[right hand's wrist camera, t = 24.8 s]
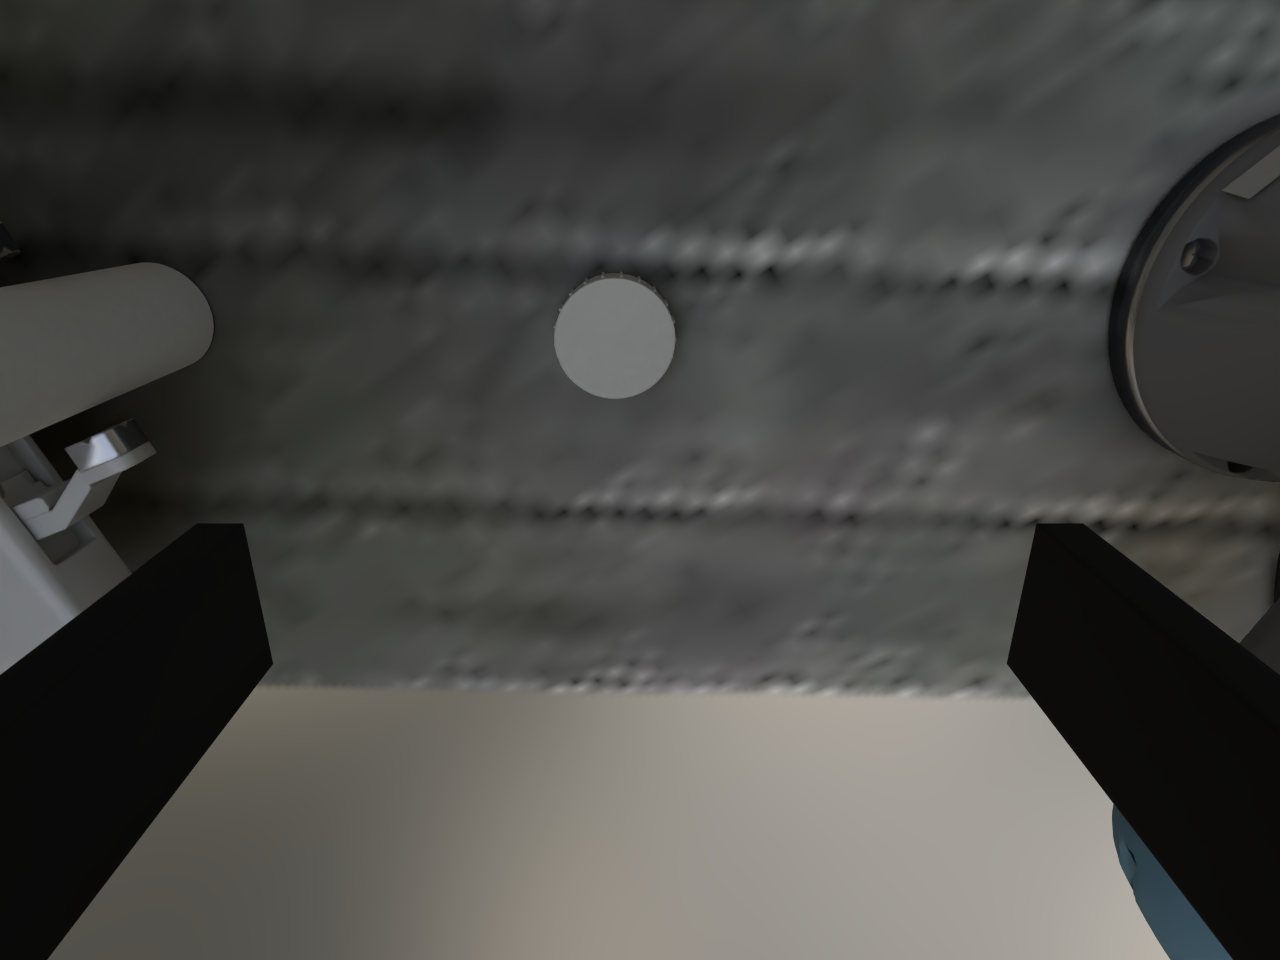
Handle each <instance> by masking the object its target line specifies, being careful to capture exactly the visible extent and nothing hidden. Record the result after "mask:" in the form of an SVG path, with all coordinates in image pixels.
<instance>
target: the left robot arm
mask: <svg viewBox="0 0 1280 960" xmlns="http://www.w3.org/2000/svg"><path fill="white" fill-rule="evenodd" d="M20 252H21V251H20V250H19V248H18V247H17V245H16V244H15V242H14V241H13V239H12V238H11V236H10V234H9V233H8V231H7V230H6V228H5V227H4V225H3V224H2V223H1V222H0V261H1V259H5V258H11V257H13V256H15V255H17V254H19V253H20ZM64 449H65V450H66V452H67V453H68V455H69V456H70V458H71V459H72V460H73V462H74V463H75V465H76V466H77V468H78V469H77V470H76V472H75V473H74V475H73V477H72V478H71V479H68V480H66V481H63V480H62V478H61V477H60V476H59V474H58V473H57V471H56V470H55V469H54V467H53V466H52V465H51V463H50V462H49V461H48V459H47V458H46V457H45V455H44V454H43V452H42V451H41V450H40V448H39V447H38V446H37V444H36V443H35V442H34V440H33V439H32V438H31V436H30V435H27V436H25V437H22V438H20V439H18V440H15V441H13V442H11V443H8V444H6V445H4V446H1V447H0V675H1V674H2V673H3V672H5V671H6V670H7V669H8V668H10V667H11V666H12V665H14V664H15V663H16V662H18V661H19V660H20V659H21V658H23V657H24V656H25V655H27V654H28V653H29V652H31V651H32V650H33V649H34V648H36V647H37V646H38V645H40V644H41V643H42V642H44V641H45V640H46V639H47V638H49V637H50V636H51V635H53V634H54V633H55V632H57V631H58V630H59V629H61V628H62V627H63V626H64V625H66V624H67V623H68V622H70V621H71V620H72V619H74V618H75V617H76V616H77V615H79V614H80V613H81V612H83V611H84V610H85V609H87V608H88V607H89V606H90V605H92V604H93V603H94V602H96V601H97V600H98V599H100V598H101V597H102V596H103V595H105V594H106V593H107V592H109V591H110V590H111V589H113V588H114V587H115V586H116V585H118V584H119V583H120V582H122V581H123V580H124V579H126V578H127V577H128V576H130V575H131V574H132V573H131V571H130V570H129V569H128V567H127V566H126V565H125V563H124V562H123V561H122V559H121V558H120V557H119V555H118V554H117V553H116V551H115V550H114V549H113V547H112V546H111V545H110V543H109V542H108V540H107V539H106V538H105V536H104V535H103V534H102V532H101V531H100V530H99V528H98V527H97V526H96V524H95V523H94V522H93V520H92V519H91V517H90V516H89V514H90V513H92V512H94V511H95V510H97V509H98V508H100V507H102V506H103V505H104V504H105V502H106V500H107V498H108V496H109V494H110V493H111V491H112V489H113V487H114V485H115V483H116V482H117V480H118V478H119V476H120V474H121V472H122V471H125V470H127V469H129V468H131V467H133V466H135V465H137V464H139V463H140V462H142V461H144V460H145V459H147V458H149V457H150V456H152V455H154V454H156V450H155V449H154V447H153V446H152V444H151V443H150V441H149V440H148V439H147V437H146V436H145V435H144V433H143V432H142V430H141V429H140V427H139V426H138V425H137V423H136V422H135V420H134V419H133V418H130V419H128V420H126V421H123V422H121V423H119V424H117V425H115V426H111V427H109V428H107V429H104V430H102V431H100V432H97V433H95V434H93V435H91V436H89V437H87V438H85V439H83V440H81V441H78V442H76V443H74V444H72V445H70V446H68V447H66V448H64Z"/></svg>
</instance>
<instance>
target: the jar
mask: <svg viewBox="0 0 1280 960" xmlns="http://www.w3.org/2000/svg"><path fill="white" fill-rule="evenodd" d="M213 332H214V323H213V316H212V312H211V309H210V306H209V304H208V302H207V300H206V298H205V297H204V295H203V293H202V292H201V291H200V290H199V288H198V287H197V286H196V285H195V284H194V283H193V282H192V281H191V280H190V279H189V278H187V277H186V276H185V275H183V274H182V273H180V272H178V271H177V270H175V269H173V268H170V267H168V266H165V265H162V264H158V263H151V262H143V263H135V264H130V265H124V266H118V267H113V268H107V269H102V270H96V271H90V272H85V273H79V274H73V275H68V276H62V277H56V278H51V279H45V280H40V281H34V282H28V283H23V284H17V285H11V286H6V287H0V447H1V446H4V445H6V444H8V443H11V442H13V441H15V440H18V439H20V438H22V437H25V436H27V435H29V434H32V433H34V432H36V431H39V430H41V429H43V428H45V427H48V426H50V425H52V424H55V423H57V422H59V421H62V420H64V419H66V418H69V417H71V416H73V415H76V414H78V413H80V412H82V411H85V410H87V409H89V408H92V407H94V406H96V405H99V404H101V403H103V402H106V401H108V400H110V399H113V398H115V397H117V396H119V395H122V394H124V393H126V392H129V391H131V390H133V389H136V388H138V387H140V386H143V385H145V384H147V383H150V382H152V381H154V380H157V379H159V378H161V377H163V376H166V375H168V374H170V373H173V372H175V371H177V370H180V369H182V368H184V367H187V366H189V365H191V364H193V363H195V362H196V361H198V360H199V359H200V358H201V357H203V355H204V354H205V353H206V352H207V350H208V348H209V347H210V344H211V341H212V338H213Z"/></svg>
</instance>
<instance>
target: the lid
mask: <svg viewBox="0 0 1280 960" xmlns="http://www.w3.org/2000/svg"><path fill="white" fill-rule="evenodd" d="M559 311H560V313H559V316H558V318H557V321H556V323H555V325H554V328H555V332H554V347H555V350H556V354H557V357H558V360H559V363H560V365H561V366H562V368H563V370H564V372H565V373H566V374H567V376H568V377H569V378H570V379H571V380H572V381H573V382H574V383H575V384H576V385H577V386H579V387H580V388H581V389H583V390H585V391H586V392H588V393H591V394H593V395H596V396H599V397H603V398H609V399H621V398H628V397H632V396H635V395H638V394H640V393H642V392H644V391H646V390H648V389H649V388H651V387H652V386H653V385H654V384H655V383H657V382H658V381H659V380H660V378H661V377H662V376H663V375H664V374H665V372H666V370H667V369H668V367H669V365H670V363H671V360H672V359H673V354H674V349H675V341H677V338H676V335H675V328H674V323H675V320H674V317H673V316H671V314H670V311H669V308H668V303H667V300H666V299H665V300H664V299H663V298H662V296H661V295H660V294H659V293H658V292H657V291H656V287H655V286H654V285H653V287H652V286H651V285H650V284H648V283H647V282H645V281H643V280H641V278H640V276H638V277H635V276H631V275H628V274H623V272H622V271H620V273H608V274H605V272H602V275H598V276H595V277H593V278H590V279H589V280H588V278H586V279H585V281H584V282H583V283H582V284H581V285H579V286H578V287H577V288H576V289H575V290H573V289H572V290H571V291H570V294H569V297H568V298H567V300H566V301H565V303H564V304H562V305H561V307H560V308H559Z"/></svg>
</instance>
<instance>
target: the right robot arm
mask: <svg viewBox="0 0 1280 960" xmlns="http://www.w3.org/2000/svg"><path fill="white" fill-rule="evenodd" d="M1109 355H1110V365H1111V369H1112V374H1113V378H1114V382H1115V385H1116V388H1117V391H1118V393H1119V396H1120V398H1121V400H1122V402H1123V404H1124V406H1125V408H1126V409H1127V411H1128V412H1129V414H1130V415H1131V417H1132V419H1133V420H1134V421H1135V422H1136V423H1137V425H1138V426H1139V427H1140V428H1141V429H1142V430H1143V431H1144V432H1145V433H1146V434H1147V435H1148V436H1149V437H1150V438H1152V439H1153V440H1154V441H1155V442H1157V443H1158V444H1160V445H1161V446H1163V447H1164V448H1166V449H1168V450H1170V451H1171V452H1173V453H1175V454H1177V455H1179V456H1181V457H1183V458H1185V459H1187V460H1189V461H1191V462H1193V463H1195V464H1197V465H1199V466H1201V467H1203V468H1206V469H1209V470H1211V471H1214V472H1217V473H1221V474H1225V475H1228V476H1234V477H1240V478H1245V479H1252V480H1261V481H1272V482H1280V114H1279V115H1276V116H1274V117H1272V118H1270V119H1267V120H1265V121H1263V122H1261V123H1258V124H1257V125H1255V126H1253V127H1251V128H1249V129H1248V130H1246V131H1244V132H1242V133H1240V134H1239V135H1237V136H1236V137H1234V138H1232V139H1231V140H1229V141H1228V142H1226V143H1225V144H1223V145H1222V146H1220V147H1219V148H1218V149H1217V150H1215V151H1214V152H1213V153H1211V154H1210V155H1209V156H1207V157H1206V158H1205V159H1204V160H1202V161H1201V162H1200V163H1199V164H1198V165H1197V166H1196V167H1195V168H1194V169H1193V170H1191V171H1190V172H1189V173H1188V174H1187V175H1186V176H1185V177H1184V178H1183V179H1182V180H1181V181H1180V182H1179V183H1178V184H1177V186H1176V187H1175V188H1174V189H1173V190H1172V191H1171V192H1170V193H1169V194H1168V196H1167V197H1166V198H1165V199H1164V201H1163V202H1162V203H1161V204H1160V205H1159V207H1158V208H1157V209H1156V211H1155V212H1154V214H1153V215H1152V217H1151V218H1150V219H1149V221H1148V222H1147V224H1146V225H1145V227H1144V229H1143V230H1142V232H1141V234H1140V236H1139V237H1138V239H1137V241H1136V242H1135V244H1134V246H1133V248H1132V250H1131V253H1130V255H1129V257H1128V259H1127V261H1126V263H1125V266H1124V268H1123V271H1122V274H1121V276H1120V279H1119V282H1118V285H1117V289H1116V292H1115V296H1114V300H1113V305H1112V310H1111V316H1110V326H1109ZM272 665H273V661H272V656H271V651H270V647H269V642H268V637H267V633H266V628H265V623H264V618H263V614H262V609H261V604H260V600H259V595H258V590H257V585H256V581H255V576H254V571H253V567H252V562H251V557H250V552H249V548H248V543H247V538H246V534H245V529H244V524H196V525H195V526H193V527H192V528H191V529H189V530H188V531H187V532H185V533H184V534H183V535H182V536H180V537H179V538H178V539H176V540H175V541H174V542H172V543H171V544H170V545H169V546H167V547H166V548H165V549H163V550H162V551H161V552H159V553H158V554H157V555H156V556H154V557H153V558H152V559H150V560H149V561H148V562H146V563H145V564H144V565H143V566H141V567H140V568H139V569H137V570H136V571H135V572H133V573H132V574H131V575H130V576H128V577H127V578H126V579H124V580H123V581H122V582H120V583H119V584H118V585H116V586H115V587H114V588H113V589H111V590H110V591H109V592H107V593H106V594H105V595H103V596H102V597H101V598H100V599H98V600H97V601H96V602H94V603H93V604H92V605H90V606H89V607H88V608H87V609H85V610H84V611H83V612H81V613H80V614H79V615H77V616H76V617H75V618H74V619H72V620H71V621H70V622H68V623H67V624H66V625H64V626H63V627H62V628H61V629H59V630H58V631H57V632H55V633H54V634H53V635H51V636H50V637H49V638H47V639H46V640H45V641H44V642H42V643H41V644H40V645H38V646H37V647H36V648H34V649H33V650H32V651H31V652H29V653H28V654H27V655H25V656H24V657H23V658H21V659H20V660H19V661H18V662H16V663H15V664H14V665H12V666H11V667H10V668H8V669H7V670H6V671H5V672H3V673H2V674H1V675H0V960H47V959H48V958H49V957H50V955H51V954H52V953H53V951H54V950H55V949H56V947H57V946H58V945H59V943H60V942H61V941H62V940H63V938H64V937H65V936H66V934H67V933H68V932H69V930H70V929H71V928H72V926H73V925H74V924H75V922H76V921H77V920H78V919H79V917H80V916H81V915H82V913H83V912H84V911H85V909H86V908H87V907H88V905H89V904H90V903H91V902H92V900H93V899H94V898H95V896H96V895H97V894H98V892H99V891H100V890H101V888H102V887H103V886H104V884H105V883H106V882H107V881H108V879H109V878H110V877H111V875H112V874H113V873H114V871H115V870H116V869H117V867H118V866H119V865H120V863H121V862H122V861H123V860H124V858H125V857H126V856H127V854H128V853H129V852H130V850H131V849H132V848H133V846H134V845H135V844H136V842H137V841H138V840H139V839H140V837H141V836H142V835H143V833H144V832H145V831H146V829H147V828H148V827H149V826H150V824H151V823H152V822H153V820H154V819H155V818H156V816H157V815H158V814H159V812H160V811H161V810H162V809H163V807H164V806H165V805H166V803H167V802H168V801H169V799H170V798H171V797H172V795H173V794H174V793H175V792H176V790H177V789H178V788H179V786H180V785H181V784H182V782H183V781H184V780H185V778H186V777H187V776H188V775H189V773H190V772H191V771H192V769H193V768H194V767H195V765H196V764H197V763H198V761H199V760H200V759H201V757H202V756H203V755H204V754H205V752H206V751H207V750H208V748H209V747H210V746H211V744H212V743H213V742H214V740H215V739H216V738H217V737H218V735H219V734H220V733H221V731H222V730H223V729H224V727H225V726H226V725H227V723H228V722H229V721H230V719H231V718H232V717H233V716H234V714H235V713H236V712H237V710H238V709H239V708H240V706H241V705H242V704H243V703H244V701H245V700H246V699H247V697H248V696H249V695H250V693H251V692H252V691H253V689H254V688H255V687H256V685H257V684H258V683H259V682H260V680H261V679H262V678H263V676H264V675H265V674H266V672H267V671H268V670H269V668H270V667H271V666H272ZM1007 665H1008V666H1009V667H1010V668H1011V670H1012V671H1013V672H1014V674H1015V675H1016V676H1017V678H1018V679H1019V680H1020V682H1021V683H1022V684H1023V685H1024V687H1025V688H1026V689H1027V691H1028V692H1029V693H1030V695H1031V696H1032V697H1033V699H1034V700H1035V701H1036V703H1037V704H1038V705H1039V706H1040V708H1041V709H1042V710H1043V712H1044V713H1045V714H1046V716H1047V717H1048V718H1049V720H1050V721H1051V722H1052V723H1053V725H1054V726H1055V727H1056V729H1057V730H1058V731H1059V733H1060V734H1061V735H1062V737H1063V738H1064V739H1065V740H1066V742H1067V743H1068V744H1069V746H1070V747H1071V748H1072V750H1073V751H1074V752H1075V754H1076V755H1077V756H1078V757H1079V759H1080V760H1081V761H1082V763H1083V764H1084V765H1085V767H1086V768H1087V769H1088V771H1089V772H1090V773H1091V775H1092V776H1093V777H1094V778H1095V780H1096V781H1097V782H1098V784H1099V785H1100V786H1101V787H1102V789H1103V790H1104V791H1105V793H1106V794H1107V795H1108V797H1109V798H1110V799H1111V801H1112V802H1113V803H1114V805H1113V811H1112V825H1113V838H1114V843H1115V847H1116V851H1117V854H1118V858H1119V862H1120V865H1121V867H1122V869H1123V871H1124V873H1125V875H1126V877H1127V879H1128V881H1129V883H1130V885H1131V887H1132V889H1133V893H1134V896H1135V899H1136V902H1137V904H1138V906H1139V908H1140V910H1141V912H1142V914H1143V915H1144V917H1145V919H1146V921H1147V923H1148V924H1149V926H1150V928H1151V929H1152V931H1153V933H1154V935H1155V936H1156V938H1157V940H1158V941H1159V943H1160V944H1161V946H1162V947H1163V949H1164V951H1165V952H1166V954H1167V955H1168V957H1169V958H1170V960H1280V552H1279V557H1278V562H1277V569H1276V578H1275V591H1274V605H1273V606H1272V607H1271V608H1270V609H1269V610H1268V611H1267V613H1266V614H1265V615H1264V616H1263V617H1262V618H1261V619H1260V620H1259V622H1258V623H1257V624H1256V625H1255V626H1254V627H1253V628H1252V630H1251V631H1250V632H1249V633H1248V634H1247V635H1246V636H1245V637H1244V639H1243V640H1242V641H1241V642H1240V643H1238V642H1236V641H1235V640H1234V639H1233V638H1231V637H1230V636H1229V635H1227V634H1226V633H1225V632H1223V631H1222V630H1221V629H1219V628H1218V627H1217V626H1216V625H1214V624H1213V623H1212V622H1210V621H1209V620H1208V619H1206V618H1205V617H1204V616H1203V615H1201V614H1200V613H1199V612H1197V611H1196V610H1195V609H1193V608H1192V607H1191V606H1190V605H1188V604H1187V603H1186V602H1184V601H1183V600H1182V599H1180V598H1179V597H1178V596H1177V595H1175V594H1174V593H1173V592H1171V591H1170V590H1169V589H1167V588H1166V587H1165V586H1164V585H1162V584H1161V583H1160V582H1158V581H1157V580H1156V579H1154V578H1153V577H1152V576H1150V575H1149V574H1148V573H1147V572H1145V571H1144V570H1143V569H1141V568H1140V567H1139V566H1137V565H1136V564H1135V563H1134V562H1132V561H1131V560H1130V559H1128V558H1127V557H1126V556H1124V555H1123V554H1122V553H1121V552H1119V551H1118V550H1117V549H1115V548H1114V547H1113V546H1111V545H1110V544H1109V543H1108V542H1106V541H1105V540H1104V539H1102V538H1101V537H1100V536H1098V535H1097V534H1096V533H1095V532H1093V531H1092V530H1091V529H1089V528H1088V527H1087V526H1085V525H1084V524H1036V529H1035V534H1034V538H1033V543H1032V548H1031V552H1030V557H1029V562H1028V567H1027V571H1026V576H1025V581H1024V585H1023V590H1022V595H1021V600H1020V604H1019V609H1018V614H1017V618H1016V623H1015V628H1014V633H1013V637H1012V642H1011V647H1010V651H1009V656H1008V661H1007Z"/></svg>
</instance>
